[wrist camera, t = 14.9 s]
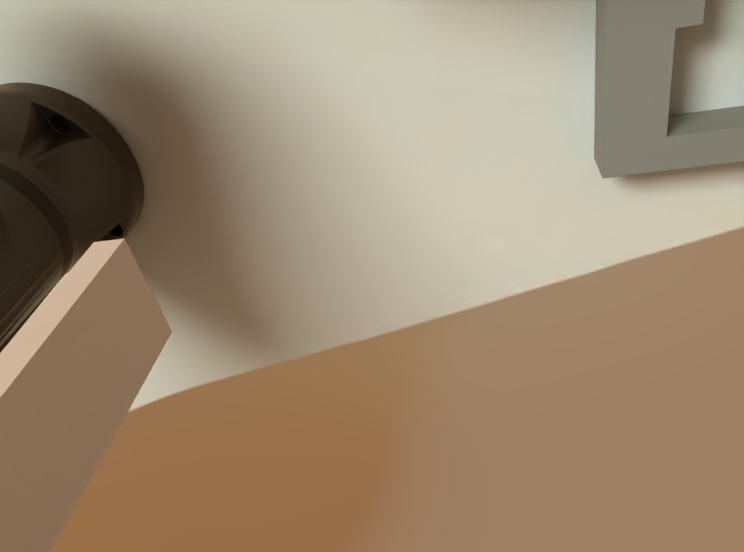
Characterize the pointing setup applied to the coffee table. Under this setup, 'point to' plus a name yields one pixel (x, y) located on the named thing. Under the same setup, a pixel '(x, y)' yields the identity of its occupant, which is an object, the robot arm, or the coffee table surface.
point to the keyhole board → (652, 94)
